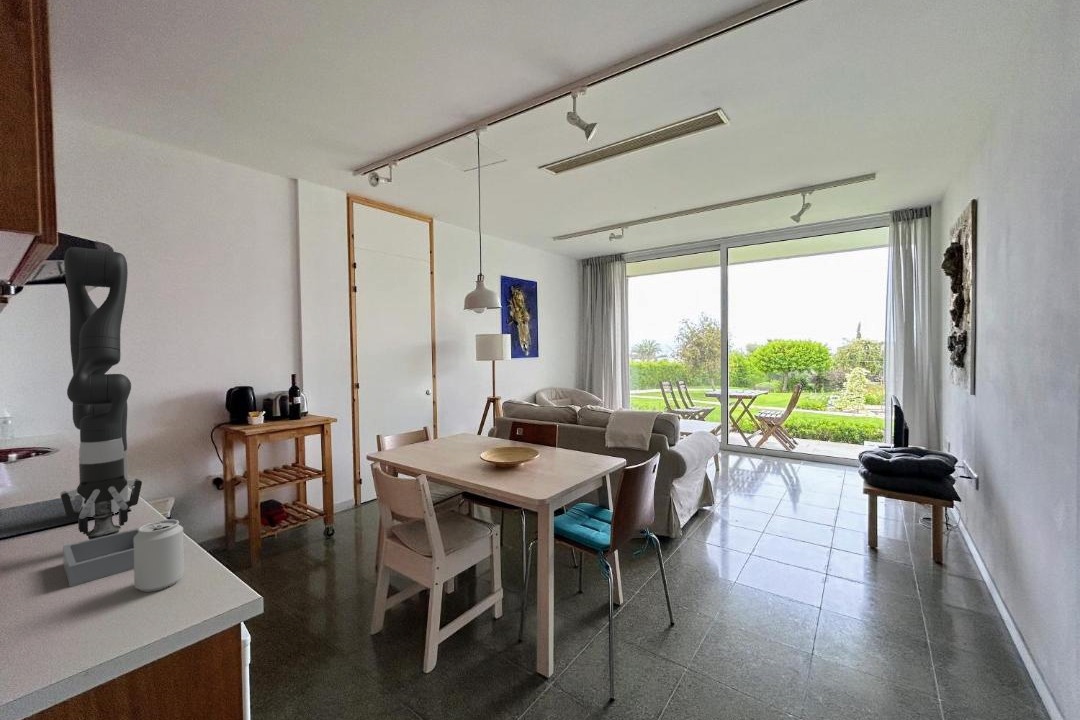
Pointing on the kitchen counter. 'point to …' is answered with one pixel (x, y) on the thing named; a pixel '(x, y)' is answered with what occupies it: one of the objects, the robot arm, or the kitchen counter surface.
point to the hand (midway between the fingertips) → (103, 528)
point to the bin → (99, 565)
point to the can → (158, 555)
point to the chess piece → (103, 521)
